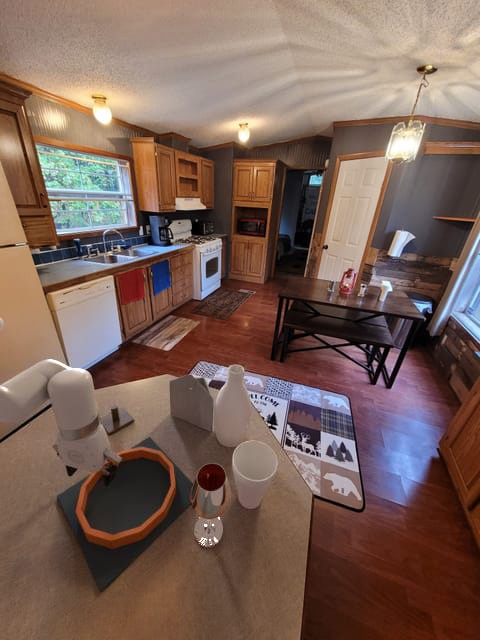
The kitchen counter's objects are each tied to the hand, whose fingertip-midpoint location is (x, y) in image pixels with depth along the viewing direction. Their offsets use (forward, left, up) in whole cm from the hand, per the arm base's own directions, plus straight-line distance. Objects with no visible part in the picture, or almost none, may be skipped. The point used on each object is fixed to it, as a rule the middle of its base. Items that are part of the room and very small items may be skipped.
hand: (92, 475), depth 61 cm
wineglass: (+28, +13, -4) cm, 31 cm away
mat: (+9, +5, -4) cm, 11 cm away
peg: (-16, +13, -4) cm, 21 cm away
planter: (0, +33, -4) cm, 33 cm away
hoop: (+8, +5, -3) cm, 10 cm away
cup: (+30, +25, -4) cm, 39 cm away
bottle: (+14, +35, -4) cm, 38 cm away
